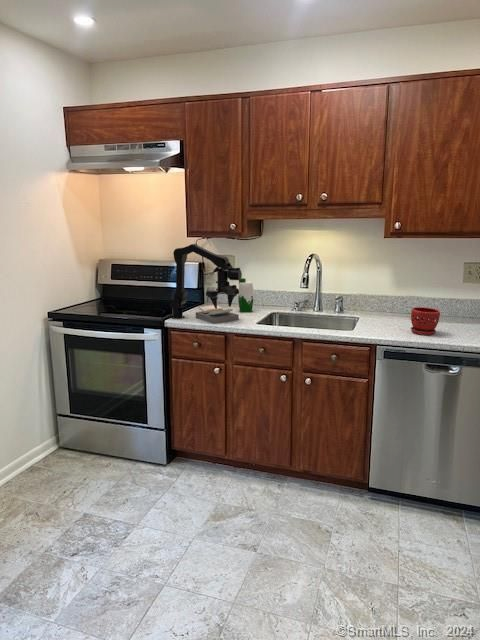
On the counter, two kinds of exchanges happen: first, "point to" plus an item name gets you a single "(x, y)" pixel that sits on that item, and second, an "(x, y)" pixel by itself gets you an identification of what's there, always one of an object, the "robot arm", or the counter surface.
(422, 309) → the plant pot
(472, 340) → the counter surface
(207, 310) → the plate
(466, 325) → the counter surface
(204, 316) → the rocker switch panel
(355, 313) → the counter surface
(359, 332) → the counter surface
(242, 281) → the milk carton
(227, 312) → the green rocker
